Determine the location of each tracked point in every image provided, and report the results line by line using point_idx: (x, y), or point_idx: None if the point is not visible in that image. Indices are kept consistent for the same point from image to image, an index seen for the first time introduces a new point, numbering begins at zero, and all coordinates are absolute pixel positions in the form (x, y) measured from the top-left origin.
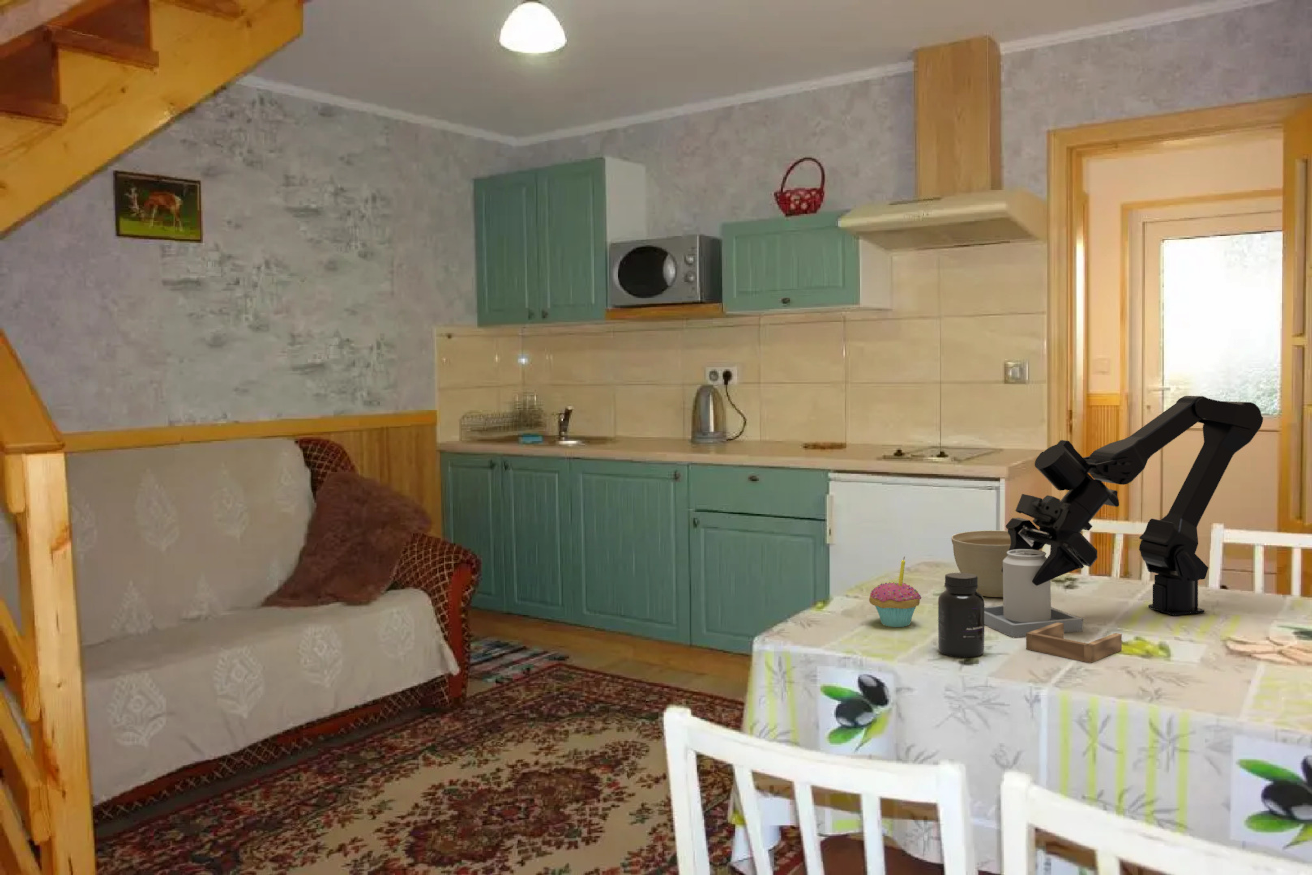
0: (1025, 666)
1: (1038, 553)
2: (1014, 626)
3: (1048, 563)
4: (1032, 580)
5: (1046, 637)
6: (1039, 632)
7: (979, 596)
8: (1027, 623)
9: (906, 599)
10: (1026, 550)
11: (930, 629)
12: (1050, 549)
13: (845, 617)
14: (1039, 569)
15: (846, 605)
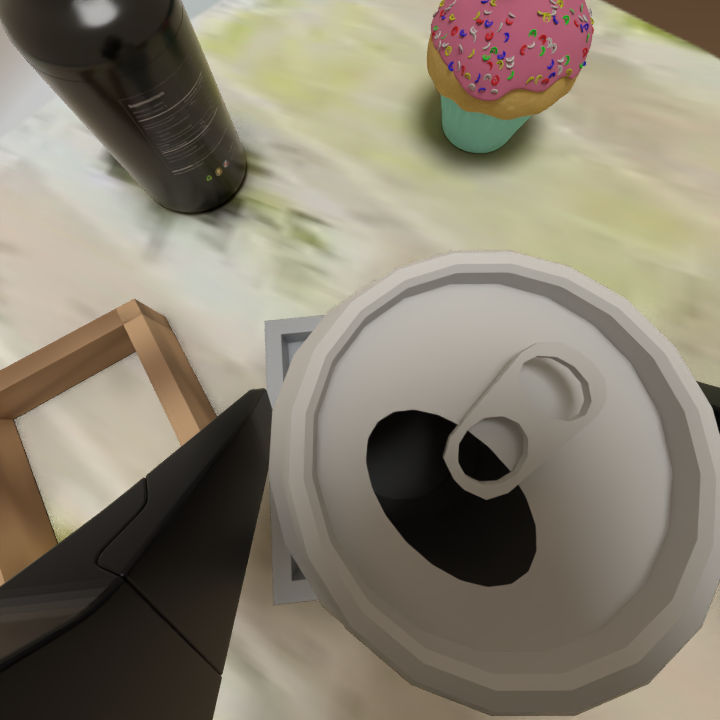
0: (42, 253)
1: (567, 638)
2: (266, 327)
3: (119, 498)
4: (260, 389)
5: (71, 333)
6: (134, 343)
7: (1, 13)
8: (272, 373)
9: (434, 38)
10: (691, 539)
11: (407, 178)
12: (15, 649)
13: None
14: (227, 436)
15: (679, 79)
